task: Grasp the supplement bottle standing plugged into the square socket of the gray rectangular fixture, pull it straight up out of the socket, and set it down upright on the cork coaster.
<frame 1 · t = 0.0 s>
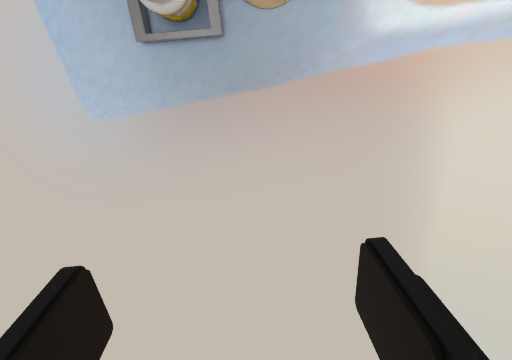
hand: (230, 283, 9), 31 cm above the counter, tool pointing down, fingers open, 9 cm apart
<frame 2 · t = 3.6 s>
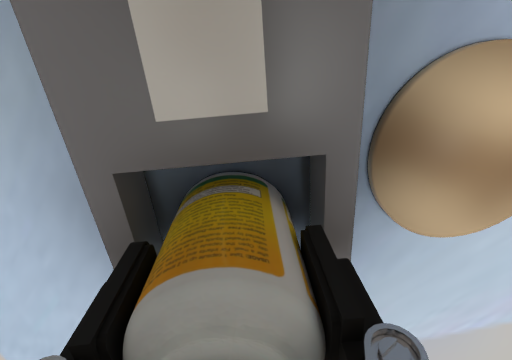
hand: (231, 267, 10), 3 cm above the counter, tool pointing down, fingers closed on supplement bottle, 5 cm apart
cork coaster: (464, 149, 12), on the counter
gray rectangular fixture: (224, 150, 12), on the counter
supplement bottle: (233, 215, 14), resting in gray rectangular fixture, touching gripper
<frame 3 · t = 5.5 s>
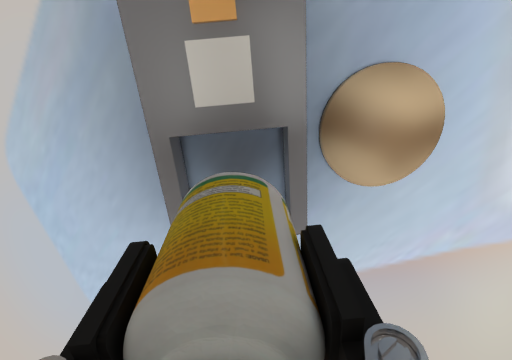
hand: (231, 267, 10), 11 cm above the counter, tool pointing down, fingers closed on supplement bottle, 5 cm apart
cork coaster: (378, 128, 20), on the counter
gray rectangular fixture: (230, 128, 19), on the counter
supplement bottle: (234, 215, 14), point 8 cm above the counter, touching gripper
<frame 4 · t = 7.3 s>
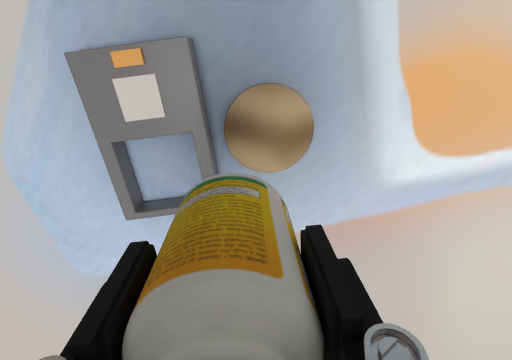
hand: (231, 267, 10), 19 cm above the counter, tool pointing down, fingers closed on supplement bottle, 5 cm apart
cork coaster: (268, 129, 27), on the counter
gray rectangular fixture: (160, 134, 27), on the counter
supplement bottle: (233, 216, 14), point 15 cm above the counter, touching gripper
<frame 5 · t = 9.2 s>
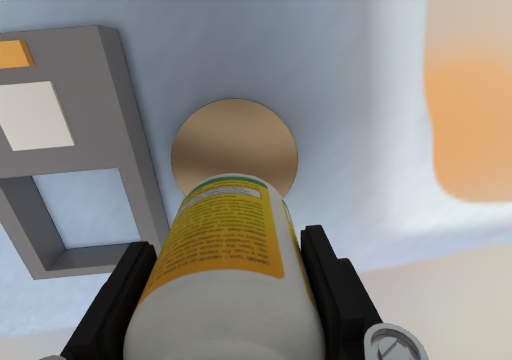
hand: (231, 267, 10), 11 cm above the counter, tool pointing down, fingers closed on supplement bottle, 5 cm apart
cork coaster: (235, 162, 20), on the counter
gray rectangular fixture: (80, 163, 19), on the counter
supplement bottle: (234, 216, 14), point 7 cm above the counter, touching gripper
when the fingers open (6 cm above the counter, at t = 11.0 s): supplement bottle drops 2 cm, resting on cork coaster.
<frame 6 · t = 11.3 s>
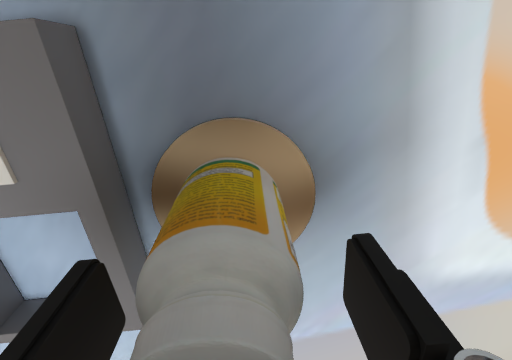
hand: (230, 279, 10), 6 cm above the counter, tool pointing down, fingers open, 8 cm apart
cork coaster: (235, 196, 15), on the counter
gray rectangular fixture: (35, 198, 15), on the counter
supplement bottle: (230, 197, 15), resting on cork coaster
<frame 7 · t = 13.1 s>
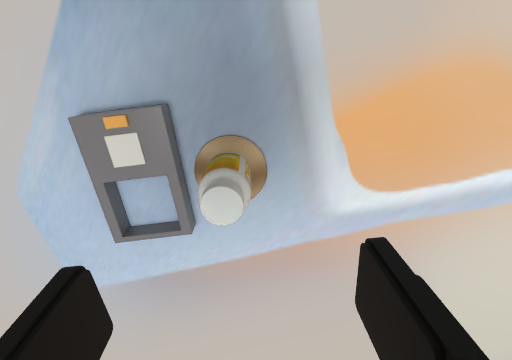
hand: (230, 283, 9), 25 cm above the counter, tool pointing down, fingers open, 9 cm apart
cork coaster: (231, 170, 34), on the counter
gray rectangular fixture: (143, 173, 34), on the counter
supplement bottle: (228, 170, 33), resting on cork coaster
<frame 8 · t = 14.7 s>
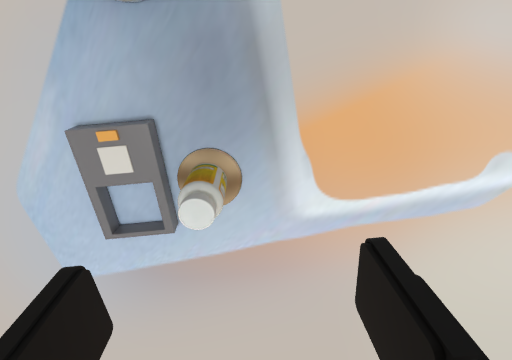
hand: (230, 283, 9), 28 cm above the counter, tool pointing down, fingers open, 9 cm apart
cork coaster: (210, 178, 38), on the counter
gray rectangular fixture: (131, 179, 38), on the counter
supplement bottle: (208, 178, 38), resting on cork coaster
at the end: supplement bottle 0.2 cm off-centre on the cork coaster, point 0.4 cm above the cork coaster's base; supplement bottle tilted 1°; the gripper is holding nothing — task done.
